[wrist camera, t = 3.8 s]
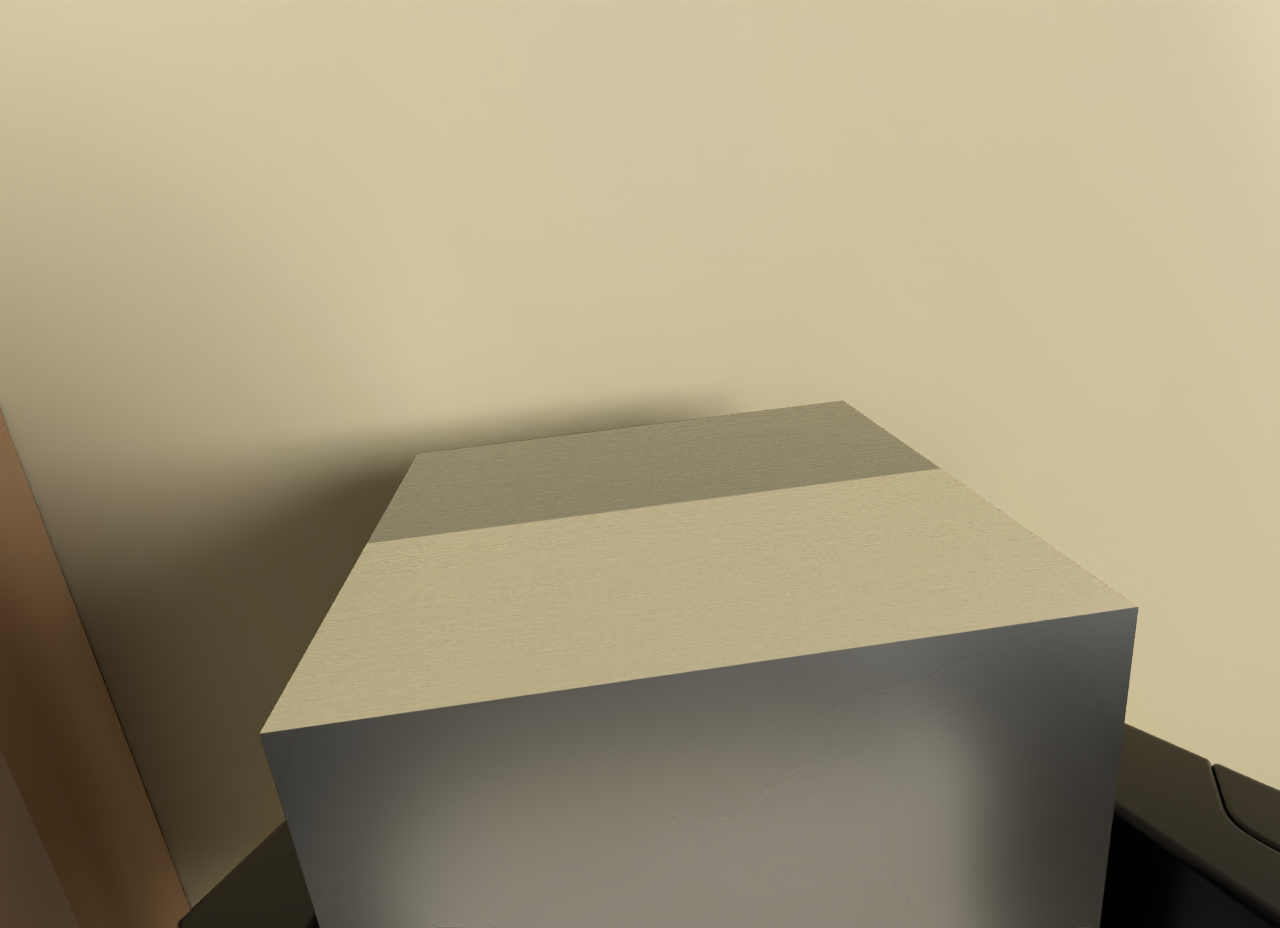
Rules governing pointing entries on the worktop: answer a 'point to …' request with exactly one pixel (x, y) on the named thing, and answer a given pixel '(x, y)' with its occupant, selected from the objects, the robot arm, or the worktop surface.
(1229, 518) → the worktop surface
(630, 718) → the block
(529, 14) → the worktop surface
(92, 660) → the walnut stand
